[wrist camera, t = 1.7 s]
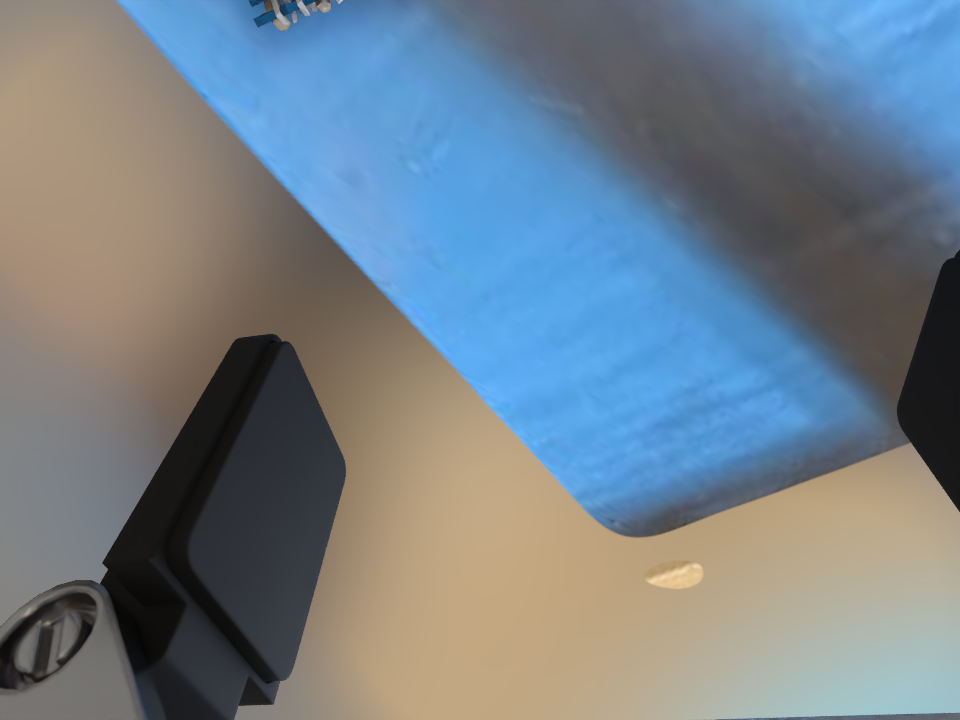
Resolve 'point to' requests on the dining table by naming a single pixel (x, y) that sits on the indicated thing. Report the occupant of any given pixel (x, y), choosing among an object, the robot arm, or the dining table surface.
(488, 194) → the dining table surface
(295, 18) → the woven mat
